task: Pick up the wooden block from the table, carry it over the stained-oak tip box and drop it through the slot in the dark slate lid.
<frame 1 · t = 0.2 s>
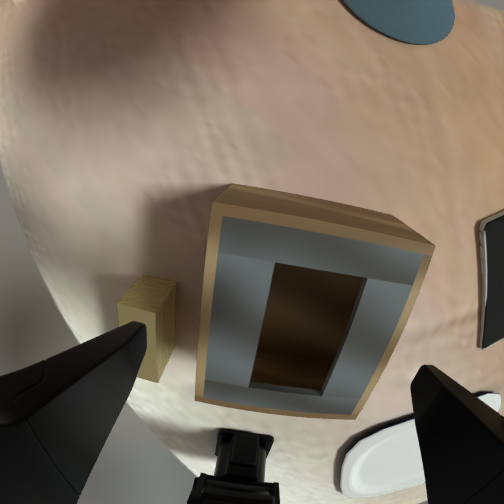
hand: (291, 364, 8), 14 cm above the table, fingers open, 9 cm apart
tip box: (296, 286, 23), on the table
plate: (418, 450, 32), on the table
wooden block: (159, 313, 25), on the table
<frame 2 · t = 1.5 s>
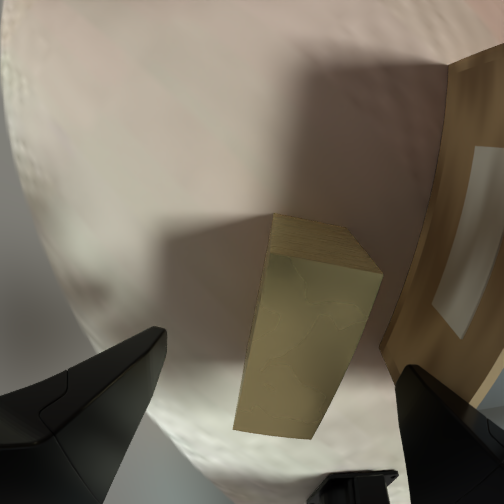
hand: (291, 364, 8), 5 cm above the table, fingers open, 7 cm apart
wooden block: (292, 296, 13), on the table
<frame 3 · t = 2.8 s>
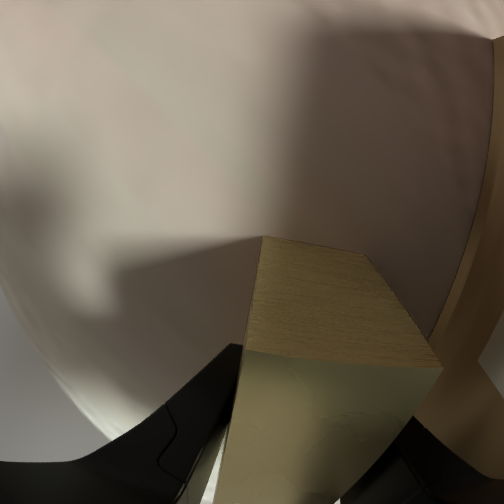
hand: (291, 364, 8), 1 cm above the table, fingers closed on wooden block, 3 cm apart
wooden block: (289, 345, 9), on the table, touching gripper
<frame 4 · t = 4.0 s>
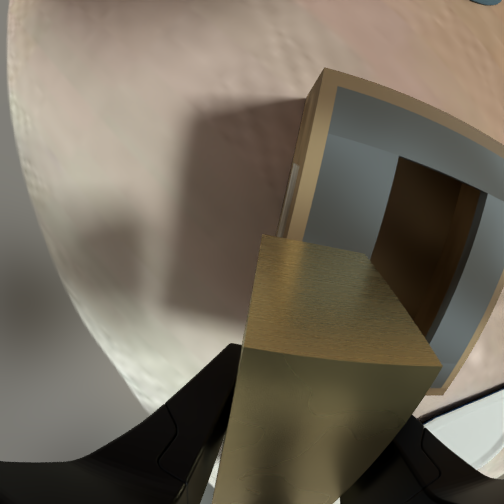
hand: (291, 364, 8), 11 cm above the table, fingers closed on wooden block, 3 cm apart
tip box: (372, 231, 18), on the table
plate: (455, 445, 27), on the table
wooden block: (288, 344, 9), point 10 cm above the table, touching gripper
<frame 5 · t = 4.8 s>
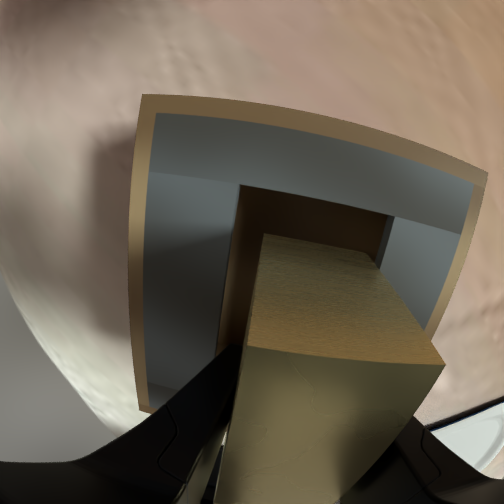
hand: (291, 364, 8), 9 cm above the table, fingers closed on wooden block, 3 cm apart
tip box: (285, 256, 17), on the table
plate: (431, 464, 26), on the table
wooden block: (289, 344, 9), point 8 cm above the table, touching gripper
when the fingers open (9 cm above the table, at t = 5.3 s): wooden block drops 6 cm and tips over, resting on tip box.
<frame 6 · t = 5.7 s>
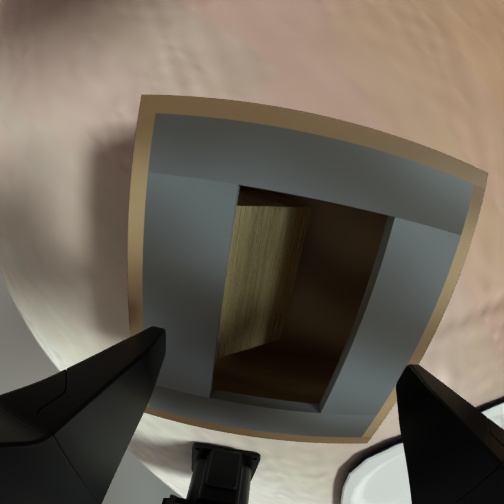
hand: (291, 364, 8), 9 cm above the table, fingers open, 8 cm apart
tip box: (285, 256, 17), on the table
plate: (431, 464, 26), on the table
wooden block: (275, 266, 15), point 2 cm above the table, tilted 51°, touching tip box
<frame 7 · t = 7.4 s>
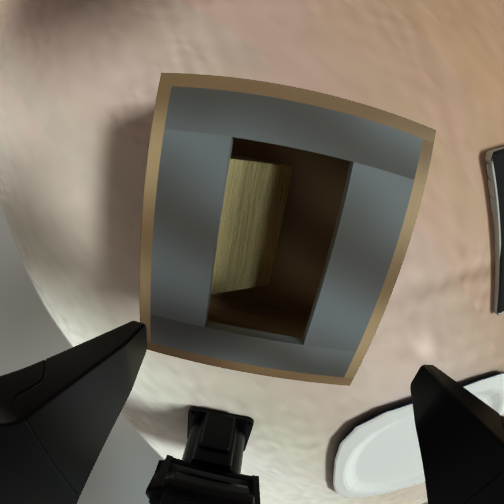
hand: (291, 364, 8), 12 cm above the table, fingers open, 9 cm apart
tip box: (274, 215, 19), on the table
plate: (423, 442, 28), on the table
wooden block: (264, 220, 18), point 2 cm above the table, tilted 51°, touching tip box
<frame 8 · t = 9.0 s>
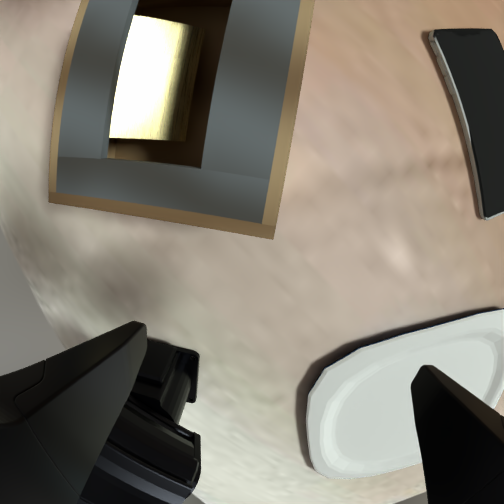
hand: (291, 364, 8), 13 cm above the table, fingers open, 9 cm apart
tip box: (200, 91, 17), on the table
plate: (417, 406, 26), on the table
wooden block: (184, 85, 16), point 2 cm above the table, tilted 51°, touching tip box
smartphone: (489, 118, 16), on the table
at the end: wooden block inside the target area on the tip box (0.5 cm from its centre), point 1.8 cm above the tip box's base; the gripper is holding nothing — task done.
